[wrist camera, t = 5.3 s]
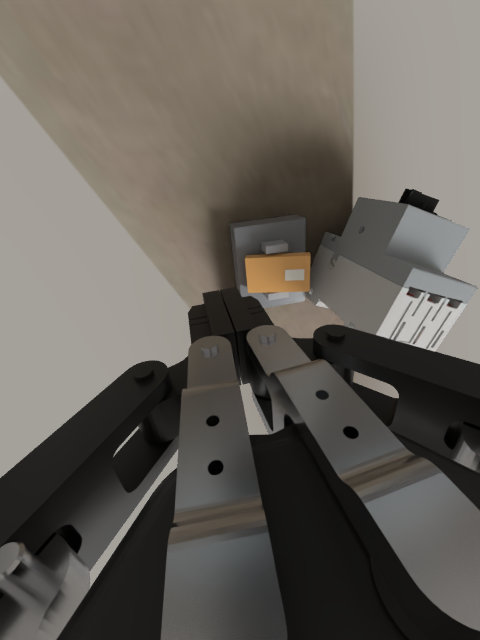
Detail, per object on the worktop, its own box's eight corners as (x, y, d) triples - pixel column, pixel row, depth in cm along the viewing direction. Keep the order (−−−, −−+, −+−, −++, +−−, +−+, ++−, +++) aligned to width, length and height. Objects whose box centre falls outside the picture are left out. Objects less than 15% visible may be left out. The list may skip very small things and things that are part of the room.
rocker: (247, 253, 32) (244, 258, 30) (309, 250, 30) (310, 255, 29) (249, 287, 34) (247, 293, 32) (308, 285, 32) (309, 292, 31)
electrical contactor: (396, 198, 35) (526, 215, 22) (346, 302, 41) (426, 363, 28) (346, 179, 33) (459, 184, 20) (301, 291, 38) (365, 353, 25)
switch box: (229, 223, 32) (237, 231, 28) (295, 214, 33) (313, 221, 29) (237, 302, 37) (246, 319, 33) (295, 292, 38) (311, 307, 34)
